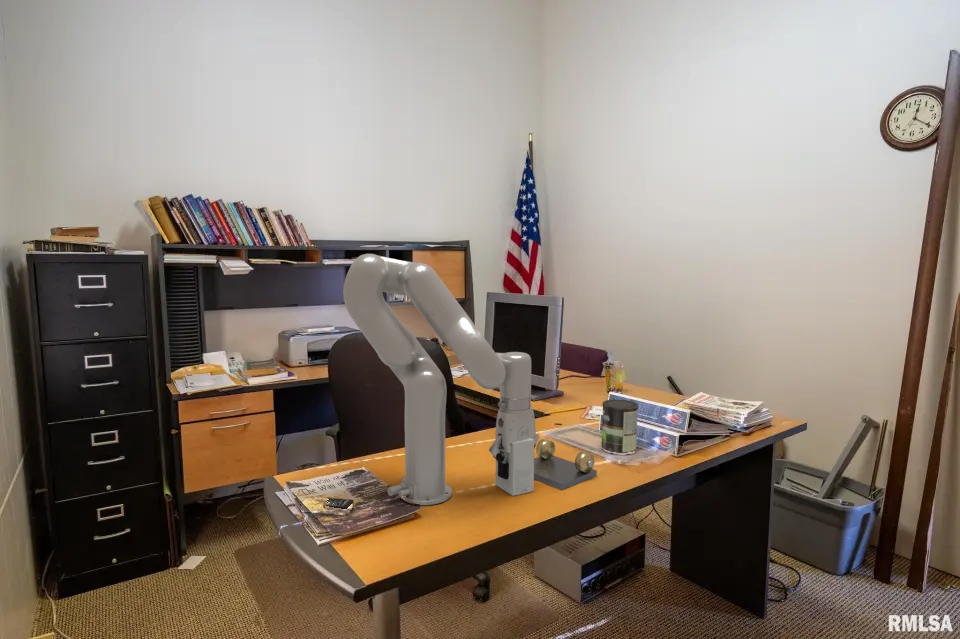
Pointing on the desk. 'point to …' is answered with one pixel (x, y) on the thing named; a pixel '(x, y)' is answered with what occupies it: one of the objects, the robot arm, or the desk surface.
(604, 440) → the coffee can
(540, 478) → the grey brass knob stand
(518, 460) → the small box
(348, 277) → the robot arm
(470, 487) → the desk surface
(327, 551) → the desk surface
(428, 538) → the desk surface
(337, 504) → the multiport hub
